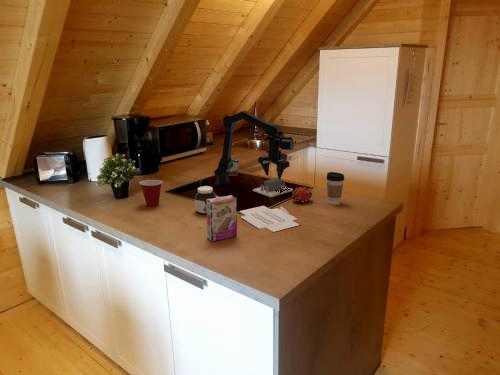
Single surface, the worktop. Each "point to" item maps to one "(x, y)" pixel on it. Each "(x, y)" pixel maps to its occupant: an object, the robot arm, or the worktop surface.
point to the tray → (272, 193)
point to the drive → (273, 184)
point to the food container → (234, 167)
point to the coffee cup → (334, 187)
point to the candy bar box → (221, 218)
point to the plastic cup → (151, 192)
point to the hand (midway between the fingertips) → (273, 177)
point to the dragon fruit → (301, 194)
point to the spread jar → (203, 199)
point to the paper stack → (269, 218)
